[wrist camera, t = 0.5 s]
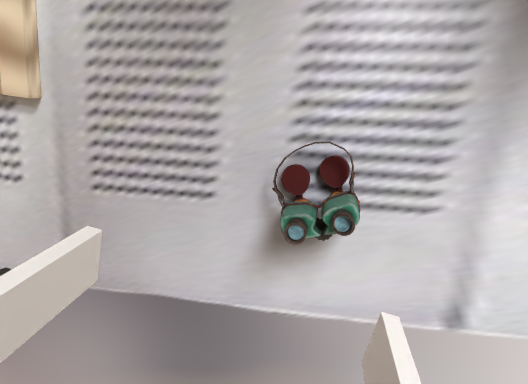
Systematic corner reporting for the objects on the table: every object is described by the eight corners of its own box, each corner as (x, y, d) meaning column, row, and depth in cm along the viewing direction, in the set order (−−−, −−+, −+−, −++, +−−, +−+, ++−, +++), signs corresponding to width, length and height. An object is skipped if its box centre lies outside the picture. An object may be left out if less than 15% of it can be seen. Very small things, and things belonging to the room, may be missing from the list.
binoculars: (351, 135, 30) (373, 246, 32) (345, 134, 40) (362, 217, 42) (251, 159, 32) (276, 262, 33) (270, 151, 42) (288, 231, 44)
